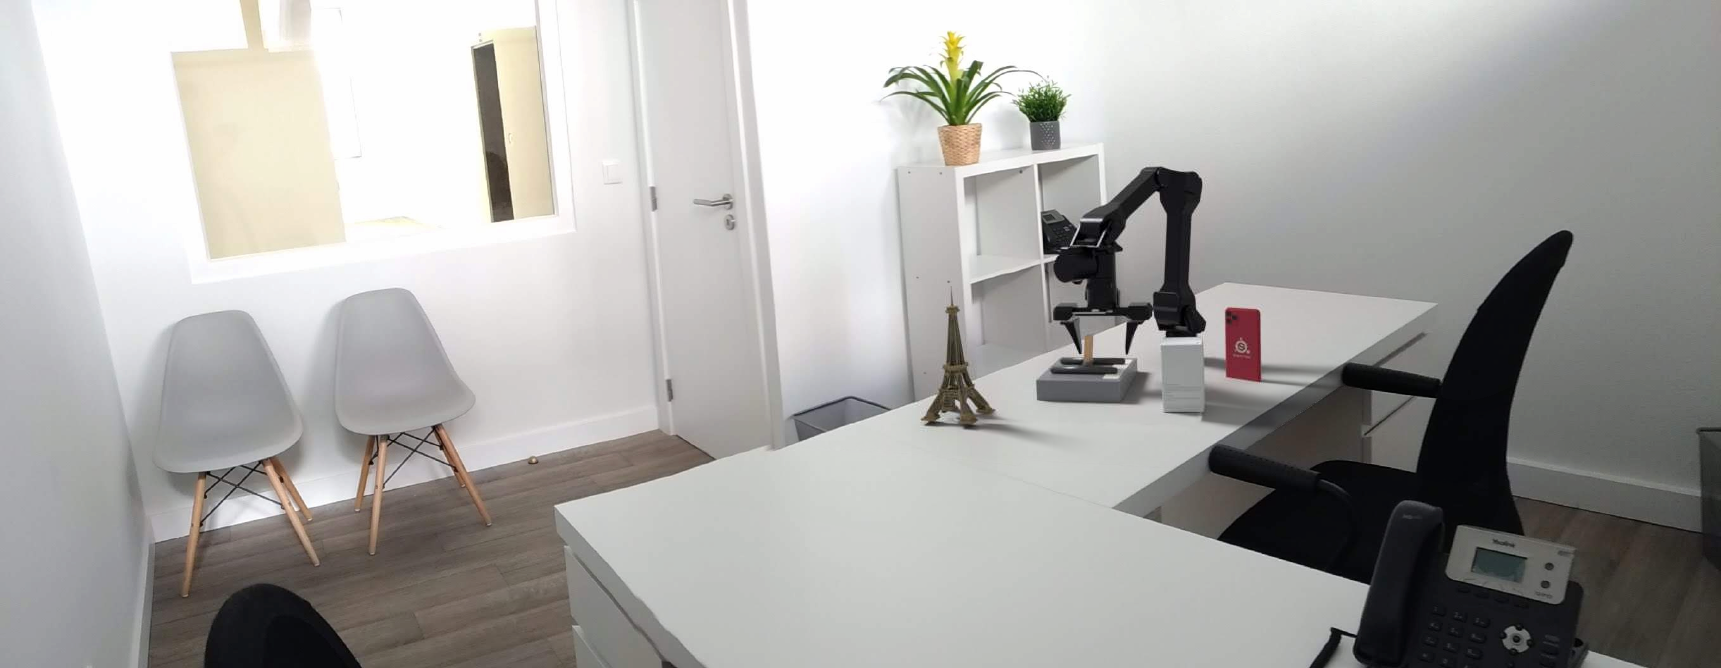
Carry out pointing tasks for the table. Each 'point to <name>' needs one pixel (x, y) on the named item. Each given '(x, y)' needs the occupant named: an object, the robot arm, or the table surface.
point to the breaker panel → (1087, 380)
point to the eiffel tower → (956, 379)
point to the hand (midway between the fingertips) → (1103, 354)
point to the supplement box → (1183, 374)
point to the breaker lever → (1088, 351)
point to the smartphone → (1243, 343)
